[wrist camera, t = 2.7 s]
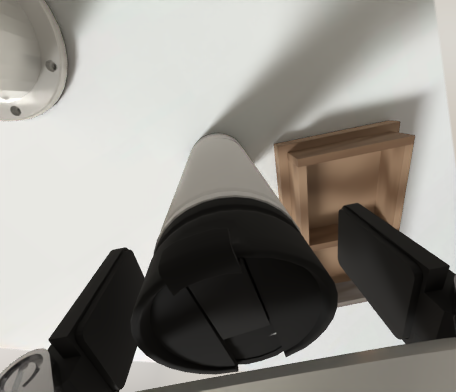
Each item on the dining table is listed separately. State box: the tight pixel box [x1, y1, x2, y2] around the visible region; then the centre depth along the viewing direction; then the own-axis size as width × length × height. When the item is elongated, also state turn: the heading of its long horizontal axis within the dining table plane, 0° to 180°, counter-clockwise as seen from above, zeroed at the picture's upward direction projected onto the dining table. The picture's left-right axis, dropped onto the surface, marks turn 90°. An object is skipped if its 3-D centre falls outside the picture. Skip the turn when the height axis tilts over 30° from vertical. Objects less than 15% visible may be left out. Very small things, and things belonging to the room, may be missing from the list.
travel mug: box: [131, 133, 338, 374], centre depth 15 cm, size 6×7×20 cm
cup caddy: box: [274, 121, 415, 307], centre depth 26 cm, size 23×13×4 cm, turn 11°
